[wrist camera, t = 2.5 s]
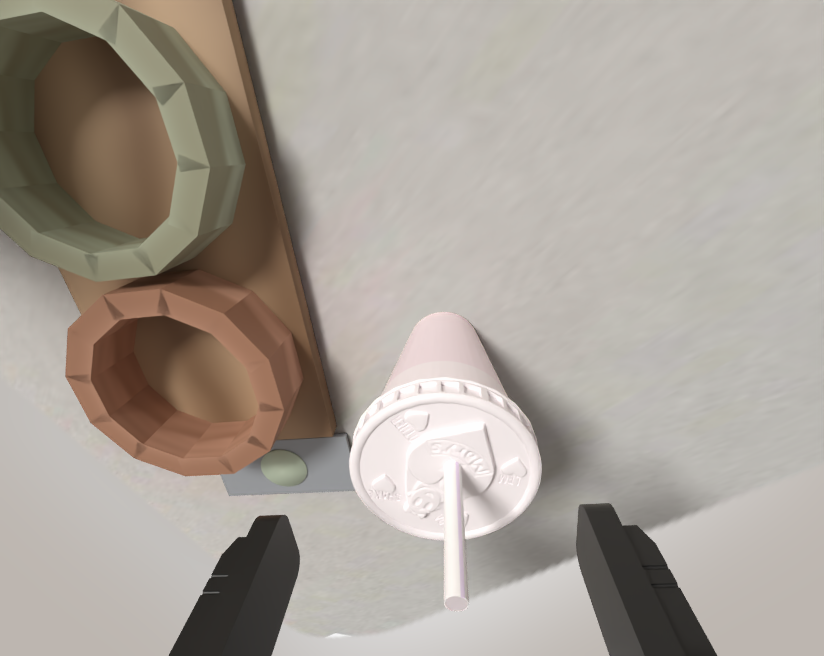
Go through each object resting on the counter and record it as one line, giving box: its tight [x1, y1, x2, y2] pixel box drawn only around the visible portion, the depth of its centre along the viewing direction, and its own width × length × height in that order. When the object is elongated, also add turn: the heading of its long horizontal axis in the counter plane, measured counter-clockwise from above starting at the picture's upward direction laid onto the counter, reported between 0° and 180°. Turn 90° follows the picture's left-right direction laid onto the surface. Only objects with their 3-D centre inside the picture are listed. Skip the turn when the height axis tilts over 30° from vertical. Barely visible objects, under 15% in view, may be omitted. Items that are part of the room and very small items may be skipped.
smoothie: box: [349, 312, 542, 611], centre depth 16 cm, size 6×6×14 cm
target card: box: [221, 433, 355, 496], centre depth 26 cm, size 9×4×1 cm, turn 97°
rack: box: [0, 0, 337, 476], centre depth 19 cm, size 12×22×4 cm, turn 7°
